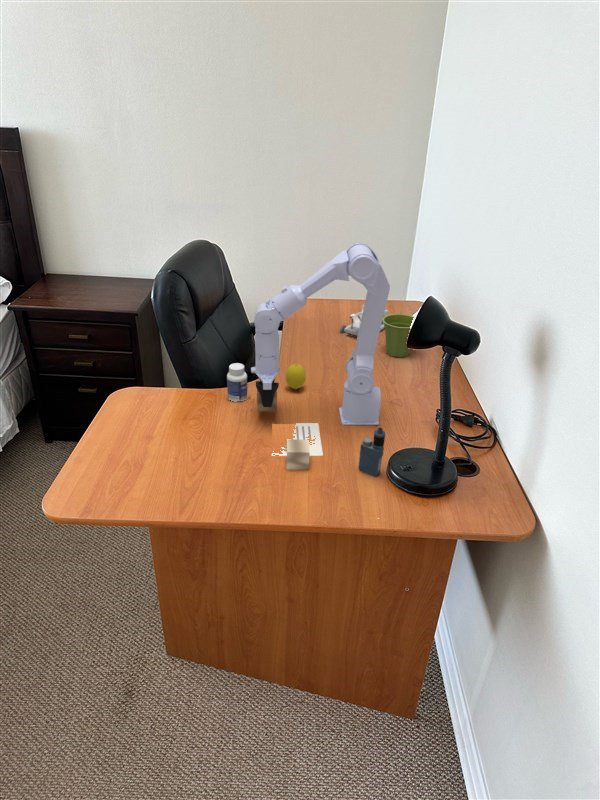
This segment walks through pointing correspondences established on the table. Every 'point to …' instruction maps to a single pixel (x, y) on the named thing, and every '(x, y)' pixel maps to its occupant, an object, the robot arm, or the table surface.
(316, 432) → the letter
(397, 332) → the plant pot
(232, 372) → the pill bottle
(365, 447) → the vaping device
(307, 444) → the beech block
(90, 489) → the table surface
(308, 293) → the robot arm
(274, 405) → the walnut block
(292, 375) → the lemon
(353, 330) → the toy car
